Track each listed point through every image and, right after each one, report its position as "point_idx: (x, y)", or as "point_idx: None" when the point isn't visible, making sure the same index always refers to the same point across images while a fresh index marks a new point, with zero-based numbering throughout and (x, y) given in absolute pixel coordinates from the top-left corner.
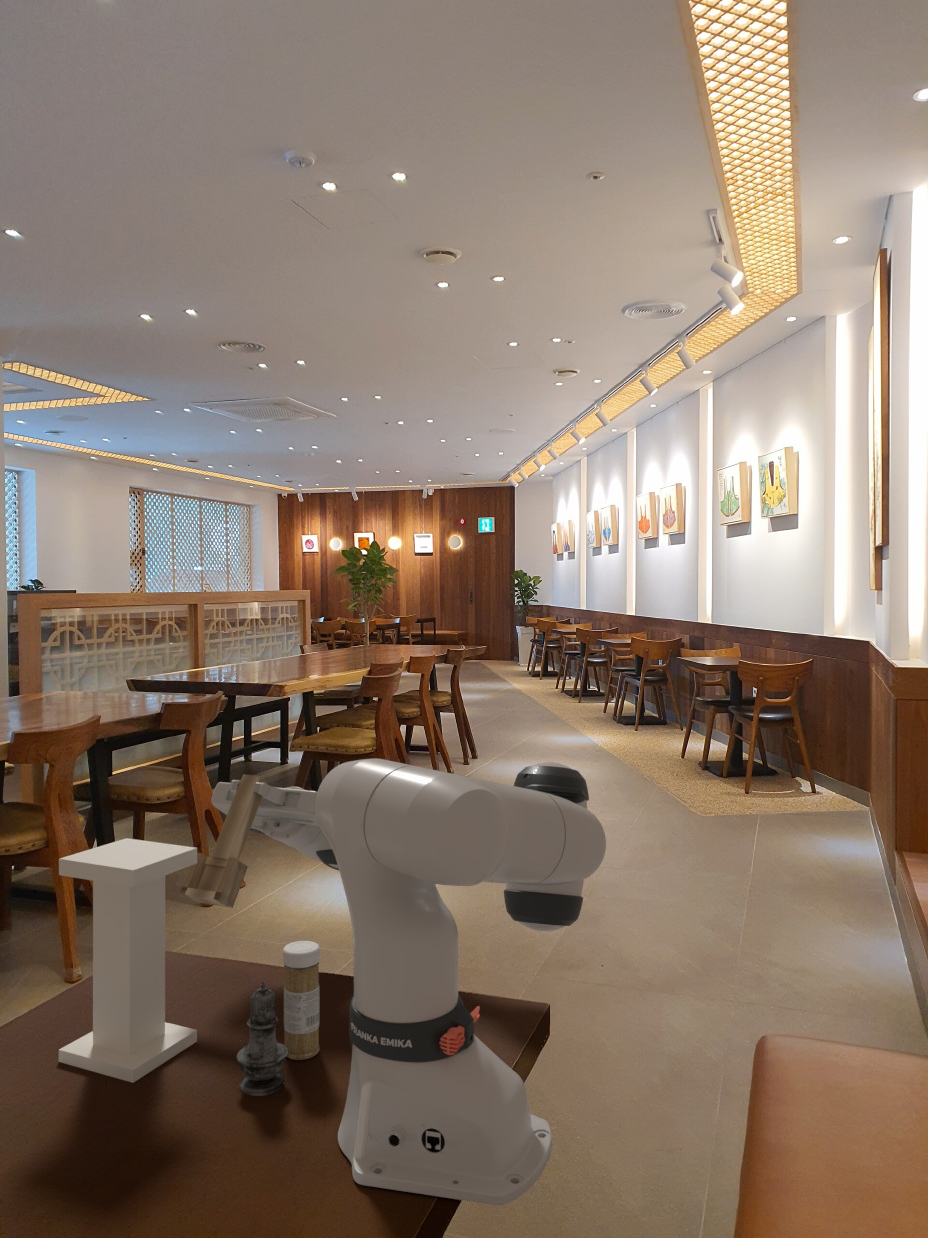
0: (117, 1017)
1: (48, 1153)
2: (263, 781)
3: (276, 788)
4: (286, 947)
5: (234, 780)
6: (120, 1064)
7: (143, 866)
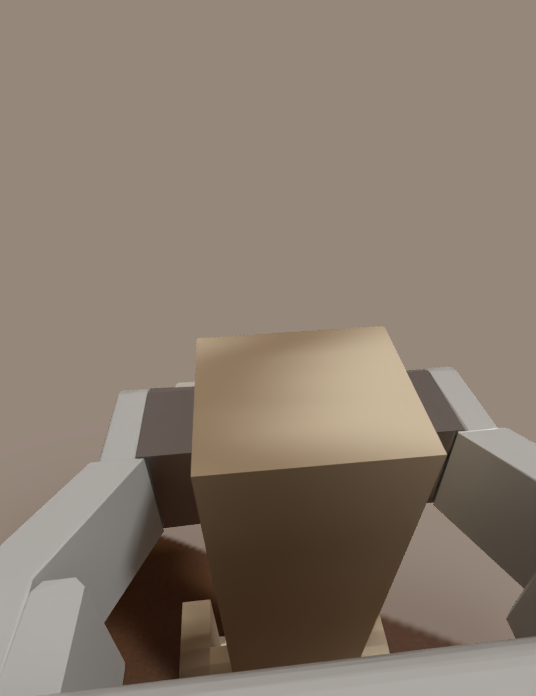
0: None
1: (191, 567)
2: (196, 420)
3: (32, 521)
4: None
5: (428, 368)
6: (224, 638)
7: (175, 386)
